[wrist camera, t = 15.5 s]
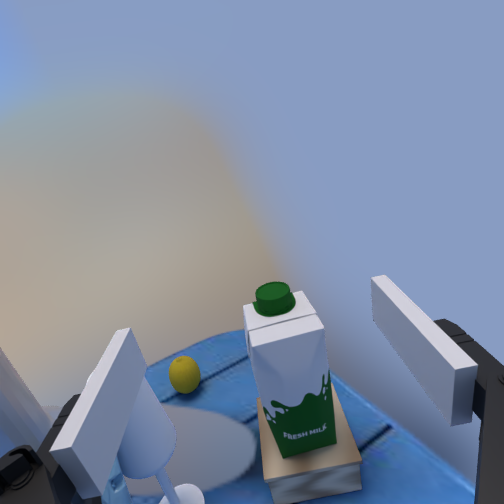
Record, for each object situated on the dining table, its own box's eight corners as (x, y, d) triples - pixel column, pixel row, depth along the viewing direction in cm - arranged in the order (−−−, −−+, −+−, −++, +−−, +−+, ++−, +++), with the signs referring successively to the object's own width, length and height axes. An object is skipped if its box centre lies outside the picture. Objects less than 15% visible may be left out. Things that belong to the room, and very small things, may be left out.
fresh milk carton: (321, 391, 45) (303, 272, 37) (347, 450, 37) (331, 312, 29) (263, 406, 45) (233, 289, 37) (277, 470, 36) (241, 335, 29)
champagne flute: (209, 526, 38) (146, 382, 28) (154, 556, 36) (69, 413, 27) (199, 474, 44) (144, 341, 34) (152, 497, 42) (81, 364, 33)
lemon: (208, 378, 60) (197, 346, 57) (200, 402, 55) (187, 369, 52) (182, 379, 61) (170, 348, 58) (171, 403, 56) (158, 370, 53)
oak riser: (272, 509, 38) (264, 479, 36) (263, 425, 49) (256, 398, 46) (365, 491, 38) (362, 460, 35) (335, 410, 48) (331, 382, 46)
